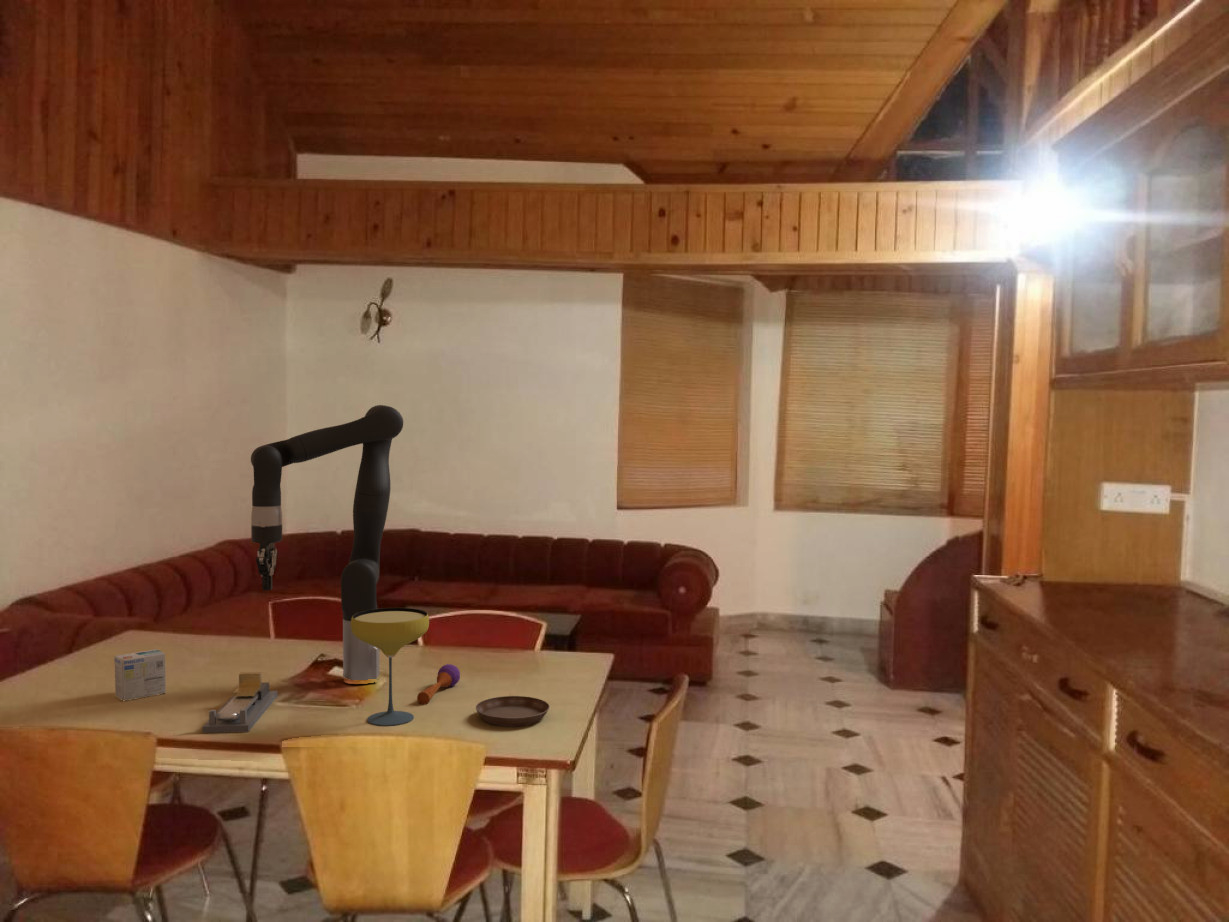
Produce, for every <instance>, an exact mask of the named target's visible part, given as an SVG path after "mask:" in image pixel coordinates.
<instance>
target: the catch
mask: <svg viewBox="0 0 1229 922" xmlns="http://www.w3.org/2000/svg"><path fill="white" fill-rule="evenodd" d="M262 683H263V682H262V671H259V672H258V671H253V672H252V671H251V672H250V671H249V672H239V673H238V687H237V688H235V689H234V690H233V692H232V696H255V695H256V694H257V692H258V691H259V690H260V689H261V684H262Z"/></svg>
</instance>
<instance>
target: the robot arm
mask: <svg viewBox="0 0 1229 922" xmlns="http://www.w3.org/2000/svg"><path fill="white" fill-rule="evenodd" d="M403 427H404V418H403V416H402V414H401V413H400V412H399V411H398V410H397V409H395V408H394V407H391V406H388V405H383V404H379V405H378V404H377V405H373V406H372V407H370V408H369V409H368V410H367V411H366V413H365V415H364V416H363V417H361V418H358V419H356V420H355V419H354V420H353V421H350V422H346V423H342V424H338V425H334V426H328V427H324V428H323V427H322V428H318V429H315V430H312V431H308V432H304V433H302V434H298V435H294V436H292V437H290V438H288V439H283V440H279V441H275V442H270V443H267V444H264V445H260V446H258V447H256V448H255V449H254V450H253V451H252V453H251V456H250V463H251V466H252V467H253V486H252V490H251V505H252V507H251V515H250V516H251V517H250V521H251V522H250V526H251V527H250V528H251V531H250V532H251V533H250V534H251V537H250V539H251V542H252V543H255V544H257V543H258V544H259V546H258V547H259V548H258V549H257V557H256V558H255V562H256V566H257V570H258V574H259V575H260V576H261V579H262V580H261V581H262V582H261V589H262V591H263V592H264V591H266V592H267V591H268V592H269V591H271V590H272V589H273V575H274V572H275V571H276V565H277V559H278V554H279V553H278V550H277V547H276V543H279V542H282V541H283V511H282V492H281V491H282V488H281V482H282V474H283V473H282V472H283V467H286V466H289V465H293V464H298V463H299V464H300V463H305V462H307V461H312V460H314V459H317V458H319V457H322V456H323V457H324V456H325V455H329V454H332V453H334V452H338V451H341V450H343V449H346V448H349V447H350V448H351V447H355V446H358V445H362V450H361V451H362V453H361V460H360V464H359V468H358V474H357V478H356V485H355V490H354V498H353V507H352V525H353V543H352V549H351V552H350V557H349V560H348V561H349V562H348V564H347V565H346V566H345V567H344V569H342V573H341V576H340V598H341V599H340V600H341V601H340V604H341V611H342V666H343V667H342V669H343V671H342V678H343V677H345V678H347V679H350V680H368V679H377V677H378V675H379V676H380V649H379V648H377V647H375V646H372V645H370V644H368V643H365V642H363V641H361V640H360V639H358V638H357V637H356V636H355V635H354V634H353V633H352V630H351V619H352V616H353V615H354V614H356V613H359V612H362V611H366V610H372V609H379V608H378V603H377V583H378V582H379V580H380V568H381V567H380V563H381V562H380V561H381V559H380V556H381V543H382V538H383V535H384V534H383V533H384V531H385V527H386V526H385V525H386V520H387V516H388V510H389V505H390V504H389V503H390V496H391V472H390V461H389V460H390V451H391V446H392V442H393V439H395V438H396V437H397V436H398V435H399V434H400V433H401V431H402V430H403Z"/></svg>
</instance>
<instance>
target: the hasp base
mask: <svg viewBox="0 0 1229 922" xmlns="http://www.w3.org/2000/svg"><path fill="white" fill-rule="evenodd" d="M257 694H258V698H257V699H256V700H255V702H254V703H253V704H252V705H251V706H250V707H249V708H248V709H241V710H240V717H239V718H238V720H222V721H217V714H218V713H219V712H220V711H221V710H222V709H223V708H224V707H225V706H226V705H227V704H228V703H229V702H230V701H231V700H232V699H233V698H234V697H235V696H233V695H232V696H231V697H230V698H229V699H228V700H227V701H226V702H225V703H224V704H223V705H222V706H221V707H220V708H219V709H218V710H216V709H210V710H209V711H208V720H207V721H206V722H205V723H204V724H203V726H202V734H215V733H216V734H218V733H219V734H220V733H223V734H224V733H248V732H249V731H251V729H252V728H253V727H254V725H256V723H257V722H258V721H259V720H260V718H261V717H262V716H263V715H264V714H265V713H266V711H267V710H268V709H269V708H270V706H271V705H272V704H273V702H275V700H276V699H277V698H278V690H270V682H266V681H265V682H262V684H261V689H260V690H259V691H258V692H257Z"/></svg>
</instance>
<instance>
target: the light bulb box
mask: <svg viewBox="0 0 1229 922" xmlns="http://www.w3.org/2000/svg"><path fill="white" fill-rule="evenodd" d="M114 680H115V681H114V687H115V689H114V691H115V697H116V696H117V697H119V698H120V699H122V700H129V699H134V700H136V699H135V698H139V699H141V698H140V697H145V698H148V697H147V696H150V697H152V696H151V695H155V696H158V695H157V694H161V695H164V694H163V693H165V694H166V693H167V687H166V653H165V652H164V651H161V650H159V649H157V648H154V649H150V650H149V649H148V650H143V651H136V652H130V653H125V654H119V655H118V654H117V655H114ZM117 697H116V698H117ZM120 699H119V700H120ZM129 701H130V700H129Z"/></svg>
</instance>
